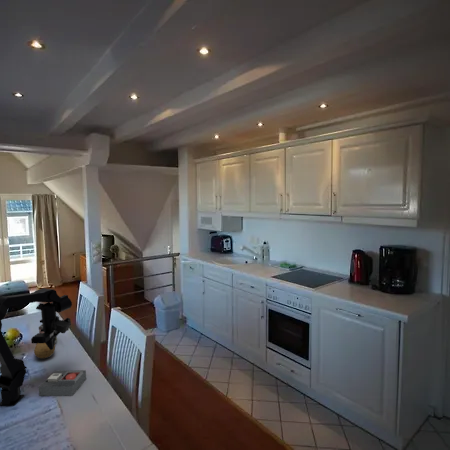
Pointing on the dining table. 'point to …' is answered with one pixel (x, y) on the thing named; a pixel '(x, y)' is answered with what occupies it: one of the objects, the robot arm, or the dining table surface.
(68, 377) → the button
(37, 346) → the potato
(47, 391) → the grey flat box
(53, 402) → the dining table surface
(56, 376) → the on key
